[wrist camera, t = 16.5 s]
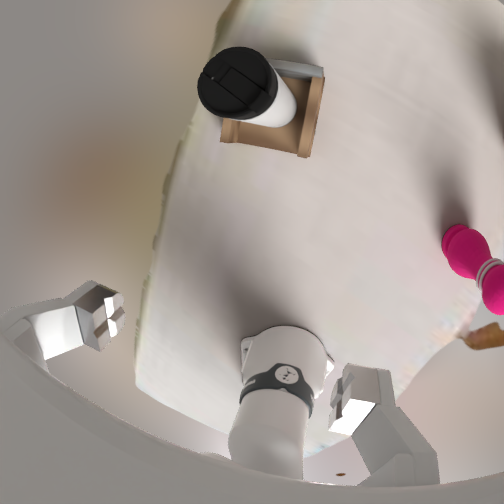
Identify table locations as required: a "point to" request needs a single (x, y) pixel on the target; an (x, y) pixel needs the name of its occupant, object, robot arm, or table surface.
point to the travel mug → (246, 89)
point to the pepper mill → (476, 264)
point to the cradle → (303, 124)
